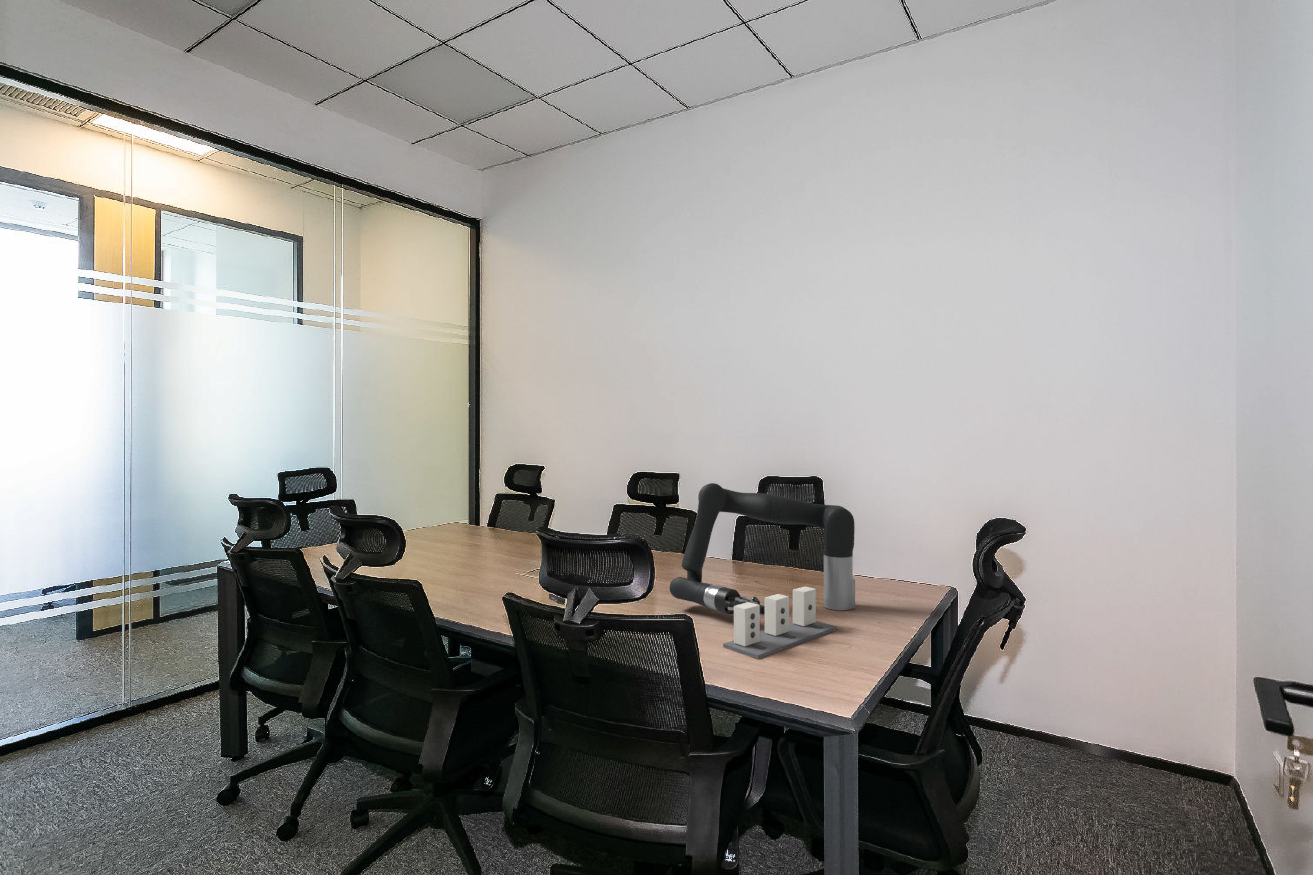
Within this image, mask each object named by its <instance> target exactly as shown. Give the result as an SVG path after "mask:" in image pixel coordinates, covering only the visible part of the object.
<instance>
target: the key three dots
mask: <svg viewBox="0 0 1313 875" xmlns="http://www.w3.org/2000/svg"><path fill="white" fill-rule="evenodd" d="M760 605H761V604H760ZM760 605H758V604H754V603H750V602H747V603H743V604H740V605H736V606H734V613H733V640H734V643H736V644H739V645H742V646H748V645H751V644H754V643H757V642H760V628H761V626H760V623H761V622H760V621H761V618H760V617H761V616H760V615H761V614H760Z"/></svg>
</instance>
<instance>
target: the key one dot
mask: <svg viewBox="0 0 1313 875" xmlns="http://www.w3.org/2000/svg"><path fill="white" fill-rule="evenodd" d="M792 621H793V623H794V624H797V625H801V626H806V625H809V624H812V623H815V622H816V621H817V589H816V588H814V587H810V586H802V587H798V588H793V589H792Z"/></svg>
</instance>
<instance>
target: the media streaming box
mask: <svg viewBox="0 0 1313 875" xmlns="http://www.w3.org/2000/svg"><path fill="white" fill-rule="evenodd" d="M548 599H550V600H551V601H553V602H555V603H557V604H560V605H563V606H565V605H564V603H565V599H564V598H561V597H558V596H555V595H553V594H549V593H548Z"/></svg>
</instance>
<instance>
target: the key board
mask: <svg viewBox="0 0 1313 875" xmlns="http://www.w3.org/2000/svg"><path fill="white" fill-rule="evenodd" d="M837 630H838V626H836V625H833V624H830V623H826V622H822V621H819V620H816V622H815V623H812V624H809V625H806V626H801V625H797V624H794V623H793V620H791V621H789V632H786V633H783V634H780V635H777V636H775V635H771V634H768V633H765V629H763V630H761V631H760V642H757V643H754V644H751V645H748V646H742V645H739V644H736V643H734V639H733V640H730V641H727V642H724V643H723V649H727V650H730V651H733V652H736V653H738V654H741V655H744V656H748V657H750V658H753V659H756V660H759V659H762V658H765V657H767V656H770V655H772V654H773V655H774V654H776V653H778V652H780V651H784V650H786V649H789V648H792V647H794V646H797V645H799V644H802V643H804V642H808V641H810V640H811V641H812V640H813V639H815V638H819V637H821V636H824V635H826V634H829V633H832V632H834V631H837Z"/></svg>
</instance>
